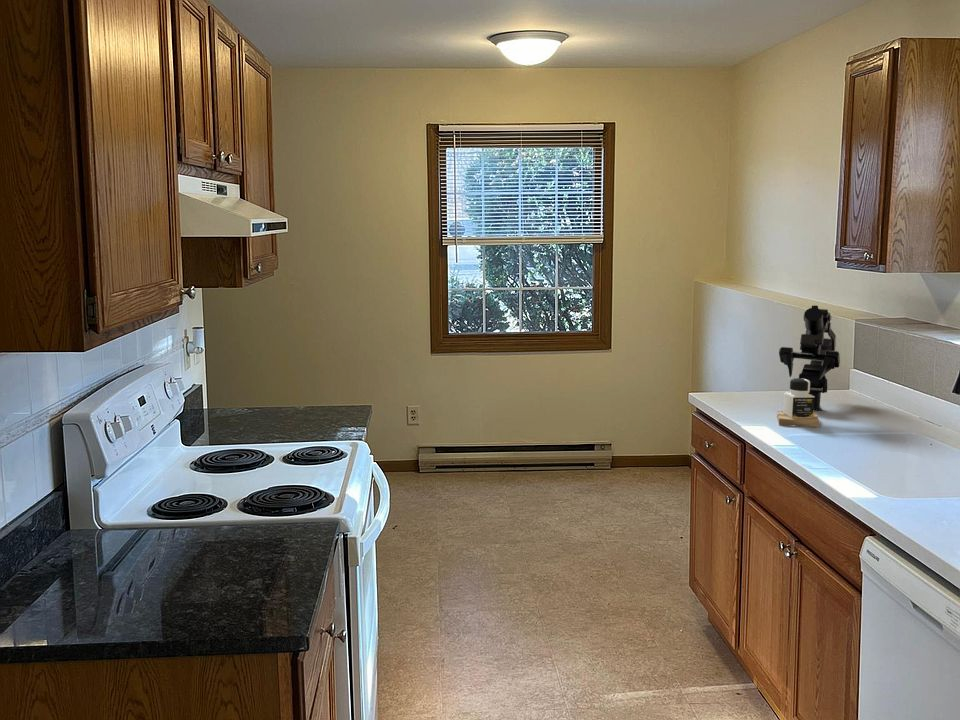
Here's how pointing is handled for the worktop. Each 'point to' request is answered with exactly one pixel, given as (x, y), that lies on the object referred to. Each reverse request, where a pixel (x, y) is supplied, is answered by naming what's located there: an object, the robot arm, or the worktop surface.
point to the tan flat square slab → (797, 420)
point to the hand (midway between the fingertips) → (804, 377)
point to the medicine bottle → (799, 399)
